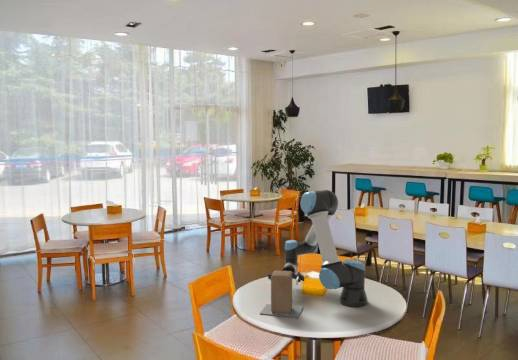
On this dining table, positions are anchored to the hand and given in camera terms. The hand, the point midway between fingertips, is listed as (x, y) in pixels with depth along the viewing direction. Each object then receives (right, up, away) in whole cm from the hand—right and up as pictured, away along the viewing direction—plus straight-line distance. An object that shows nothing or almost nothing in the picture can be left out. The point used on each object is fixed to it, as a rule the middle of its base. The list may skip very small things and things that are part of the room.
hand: (284, 281), depth 254 cm
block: (-2, -13, -7) cm, 16 cm away
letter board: (-2, -14, -7) cm, 16 cm away
